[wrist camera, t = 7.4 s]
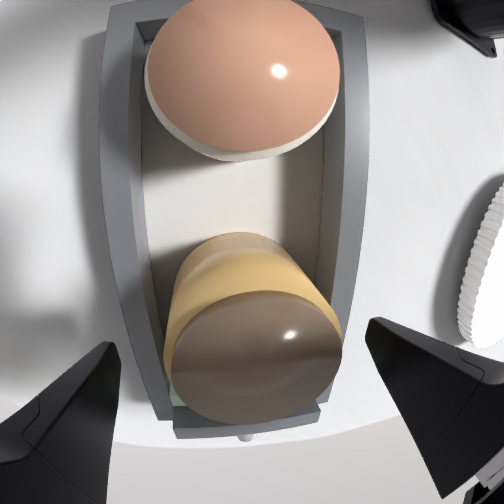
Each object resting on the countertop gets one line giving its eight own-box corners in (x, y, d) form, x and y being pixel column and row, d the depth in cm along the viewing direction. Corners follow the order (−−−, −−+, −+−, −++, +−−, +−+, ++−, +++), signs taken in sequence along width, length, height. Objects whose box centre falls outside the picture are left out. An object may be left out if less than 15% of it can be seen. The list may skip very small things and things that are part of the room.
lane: (342, 31, 8) (379, 6, 6) (316, 380, 15) (335, 417, 12) (123, 24, 7) (101, -9, 4) (160, 395, 13) (156, 438, 11)
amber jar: (294, 337, 13) (330, 413, 9) (181, 346, 12) (179, 432, 8) (304, 229, 11) (366, 283, 7) (167, 235, 11) (143, 299, 6)
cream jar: (254, 21, 8) (273, -35, 4) (325, 119, 10) (380, 101, 6) (143, 85, 8) (105, 47, 5) (216, 188, 10) (215, 202, 6)
